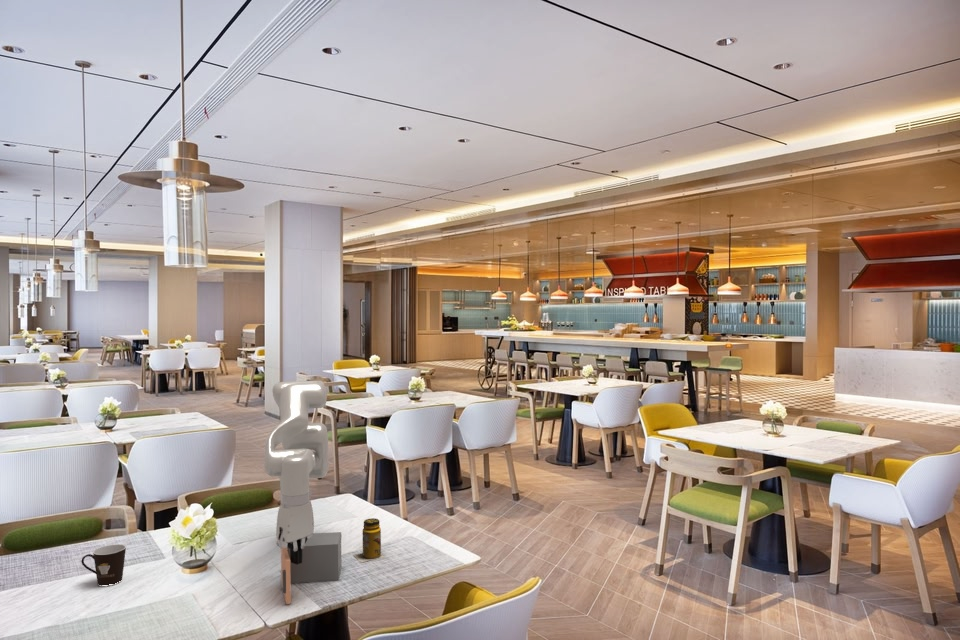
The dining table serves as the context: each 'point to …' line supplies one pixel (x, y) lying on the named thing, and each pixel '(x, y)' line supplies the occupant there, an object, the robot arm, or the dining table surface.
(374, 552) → the condiment
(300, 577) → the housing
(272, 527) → the dining table surface
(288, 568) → the door
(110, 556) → the coffee mug
